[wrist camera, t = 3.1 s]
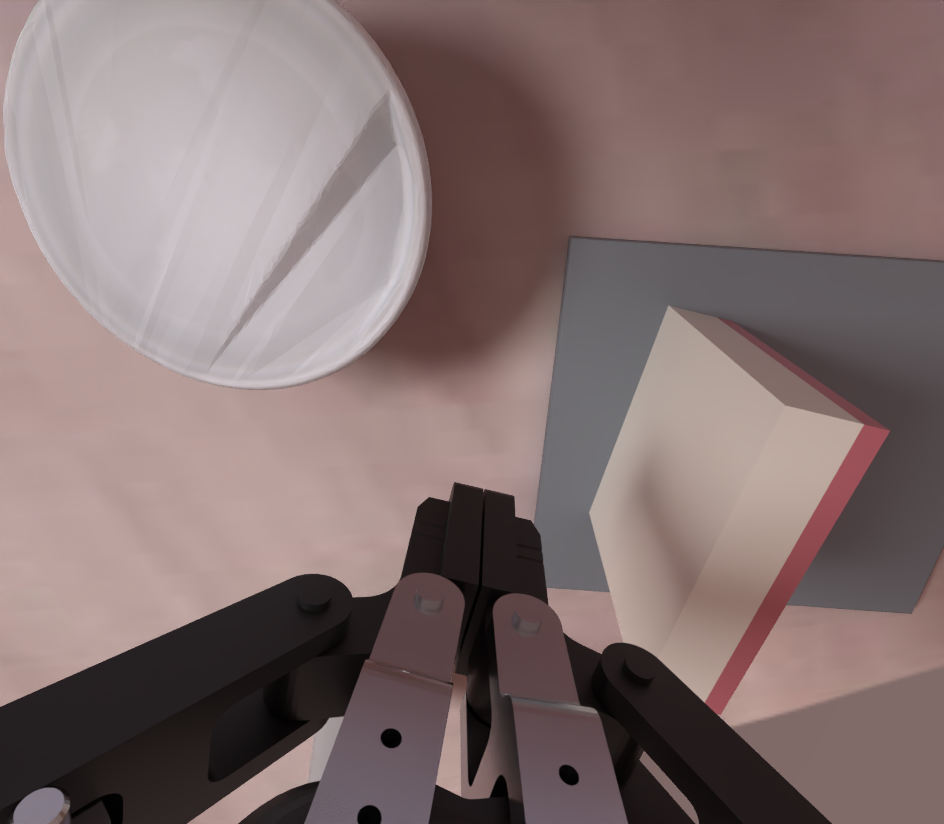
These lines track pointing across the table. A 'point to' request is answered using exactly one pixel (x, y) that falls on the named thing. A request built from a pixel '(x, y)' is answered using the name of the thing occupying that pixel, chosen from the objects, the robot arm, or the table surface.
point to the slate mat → (794, 337)
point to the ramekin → (221, 180)
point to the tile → (721, 496)
